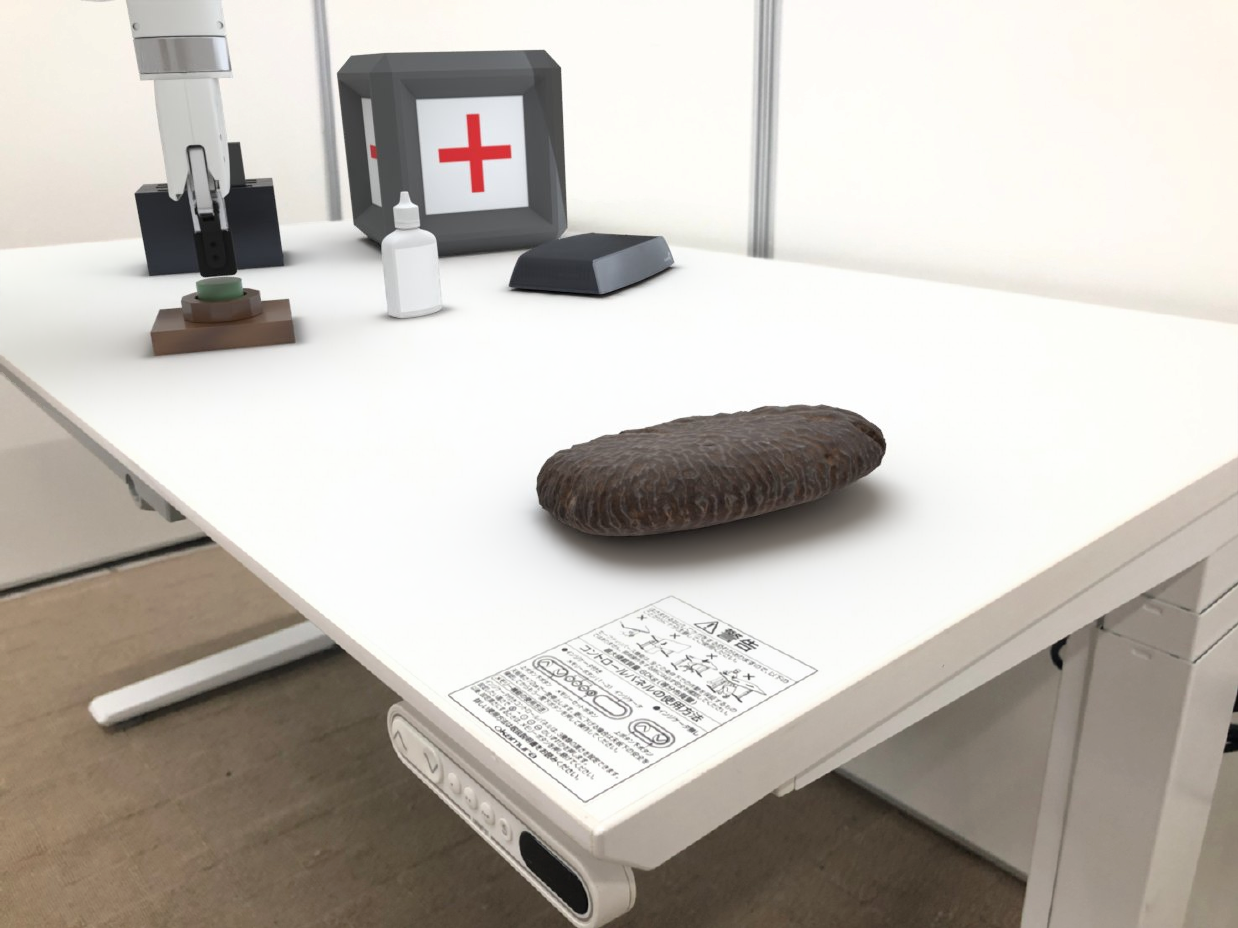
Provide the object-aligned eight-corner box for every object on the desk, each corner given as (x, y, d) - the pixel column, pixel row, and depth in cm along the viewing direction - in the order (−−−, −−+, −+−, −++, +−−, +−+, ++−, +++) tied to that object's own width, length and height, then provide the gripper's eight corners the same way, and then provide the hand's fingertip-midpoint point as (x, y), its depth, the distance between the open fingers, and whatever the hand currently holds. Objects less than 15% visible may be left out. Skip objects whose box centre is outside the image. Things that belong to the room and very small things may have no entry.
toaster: (149, 276, 130) (133, 192, 126) (156, 262, 140) (142, 183, 136) (284, 266, 134) (273, 184, 131) (282, 253, 144) (272, 176, 141)
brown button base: (154, 356, 93) (146, 312, 92) (163, 331, 102) (155, 290, 101) (295, 343, 96) (289, 300, 95) (292, 320, 105) (286, 280, 104)
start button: (197, 305, 96) (194, 286, 95) (199, 297, 99) (196, 278, 99) (244, 301, 97) (241, 282, 96) (244, 293, 100) (241, 275, 100)
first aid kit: (352, 238, 155) (331, 56, 146) (512, 224, 165) (502, 52, 156) (392, 263, 134) (371, 52, 125) (574, 246, 144) (566, 49, 135)
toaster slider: (225, 186, 130) (219, 143, 128) (225, 184, 132) (219, 142, 130) (245, 184, 130) (239, 142, 129) (246, 183, 132) (240, 141, 130)
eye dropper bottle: (446, 315, 106) (436, 192, 101) (389, 320, 104) (376, 196, 100) (440, 306, 110) (430, 188, 105) (385, 311, 108) (372, 191, 104)
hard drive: (680, 267, 127) (680, 233, 126) (607, 299, 111) (606, 260, 110) (585, 261, 133) (584, 228, 131) (502, 290, 117) (499, 253, 115)
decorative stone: (756, 435, 70) (758, 361, 68) (925, 501, 59) (933, 416, 57) (497, 505, 60) (491, 421, 58) (643, 601, 49) (641, 501, 47)
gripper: (145, 63, 96) (181, 265, 103) (127, 62, 83) (169, 293, 89) (232, 61, 98) (261, 258, 105) (228, 59, 85) (262, 285, 92)
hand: (219, 274), depth 97 cm, fingers closed
